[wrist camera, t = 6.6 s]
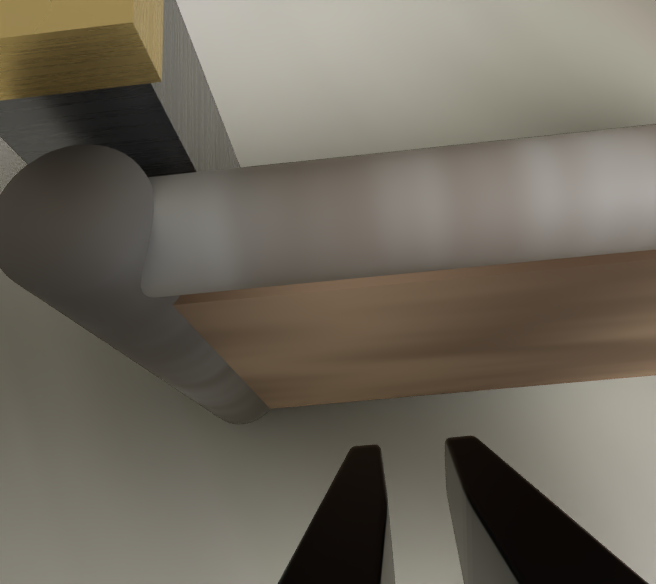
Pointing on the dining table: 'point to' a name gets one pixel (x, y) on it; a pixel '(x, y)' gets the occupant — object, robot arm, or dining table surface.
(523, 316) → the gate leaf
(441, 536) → the dining table surface
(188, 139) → the gate posts
